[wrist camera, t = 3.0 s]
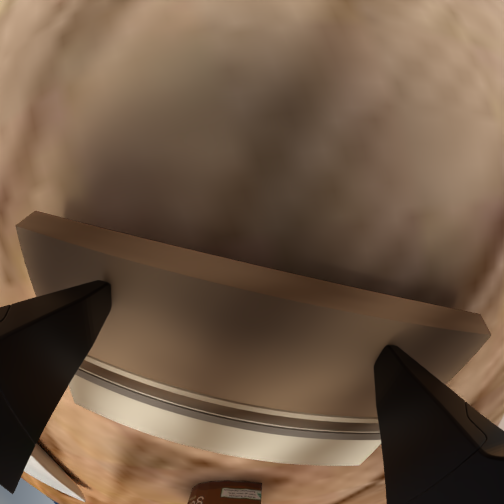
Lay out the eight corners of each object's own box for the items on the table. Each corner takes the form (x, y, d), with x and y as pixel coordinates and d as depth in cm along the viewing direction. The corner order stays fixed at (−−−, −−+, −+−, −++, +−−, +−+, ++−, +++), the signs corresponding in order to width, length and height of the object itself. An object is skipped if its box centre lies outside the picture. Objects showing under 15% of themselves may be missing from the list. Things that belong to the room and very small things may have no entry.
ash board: (387, 415, 13) (392, 432, 12) (356, 451, 14) (359, 466, 13) (72, 346, 13) (60, 359, 12) (82, 391, 14) (73, 404, 13)
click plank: (480, 314, 9) (492, 336, 7) (397, 403, 12) (401, 423, 11) (35, 210, 9) (13, 226, 7) (68, 330, 12) (56, 348, 11)
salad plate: (4, 386, 17) (-13, 406, 14) (95, 489, 24) (87, 506, 21) (-54, 355, 20) (-65, 366, 17) (13, 448, 27) (6, 459, 23)
